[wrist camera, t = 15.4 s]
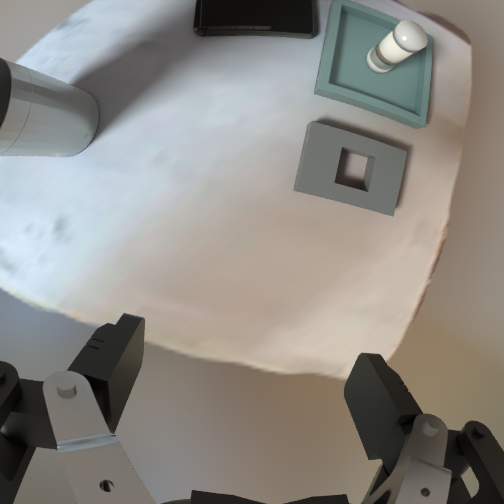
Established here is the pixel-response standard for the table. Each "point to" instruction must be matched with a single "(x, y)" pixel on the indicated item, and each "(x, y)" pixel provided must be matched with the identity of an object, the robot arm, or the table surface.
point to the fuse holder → (326, 163)
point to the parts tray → (361, 77)
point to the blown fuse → (396, 47)
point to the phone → (256, 18)
